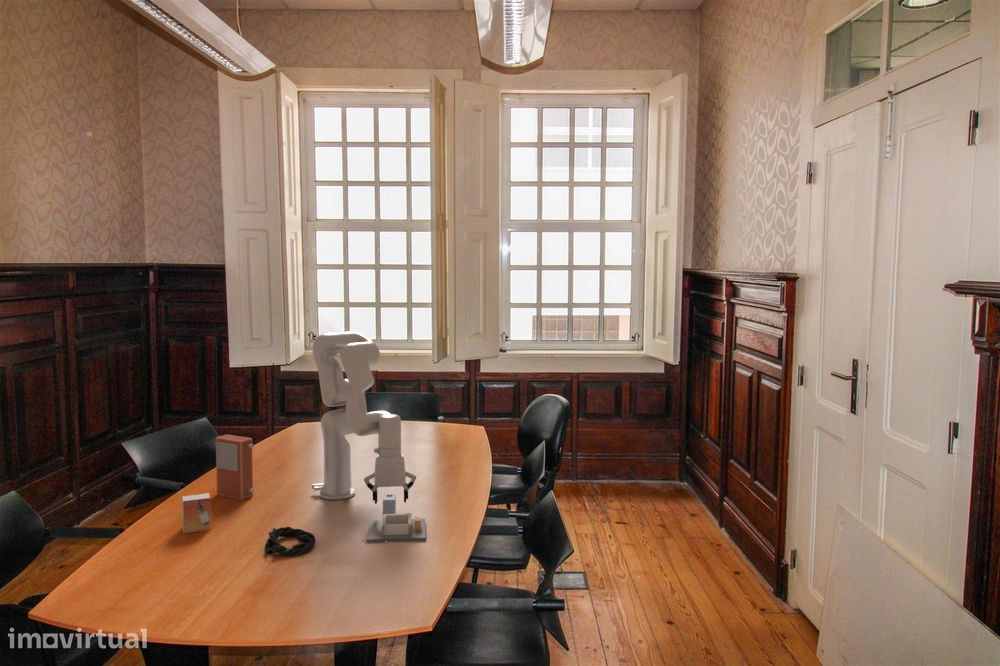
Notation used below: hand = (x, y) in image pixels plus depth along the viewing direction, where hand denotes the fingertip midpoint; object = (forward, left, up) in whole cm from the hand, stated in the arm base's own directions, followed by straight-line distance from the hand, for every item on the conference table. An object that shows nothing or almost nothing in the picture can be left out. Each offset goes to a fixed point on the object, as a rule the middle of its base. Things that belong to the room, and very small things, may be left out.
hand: (390, 501), depth 221 cm
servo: (0, +1, -6) cm, 6 cm away
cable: (-28, -20, -6) cm, 35 cm away
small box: (-60, -5, -6) cm, 61 cm away
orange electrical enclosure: (-57, +27, -6) cm, 63 cm away
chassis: (+3, -12, -5) cm, 14 cm away
